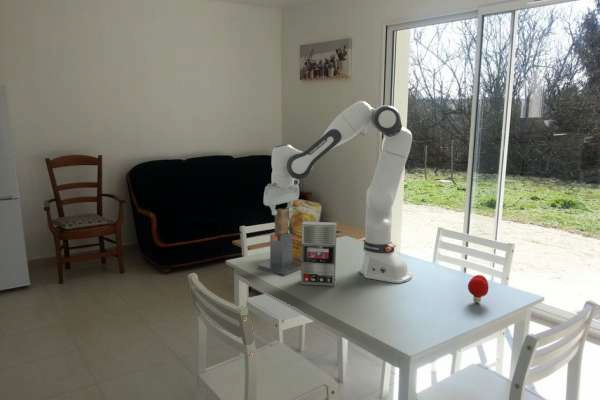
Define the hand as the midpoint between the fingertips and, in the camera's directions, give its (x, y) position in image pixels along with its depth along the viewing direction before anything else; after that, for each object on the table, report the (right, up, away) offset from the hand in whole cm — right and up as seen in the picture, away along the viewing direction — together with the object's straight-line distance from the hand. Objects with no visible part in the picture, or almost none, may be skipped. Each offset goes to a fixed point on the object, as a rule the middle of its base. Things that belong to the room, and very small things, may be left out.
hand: (281, 213), depth 203 cm
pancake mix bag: (+9, -22, +20) cm, 31 cm away
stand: (0, -25, +5) cm, 25 cm away
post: (0, -18, +3) cm, 18 cm away
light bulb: (+73, -32, -32) cm, 86 cm away
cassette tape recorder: (+16, -29, -14) cm, 35 cm away
